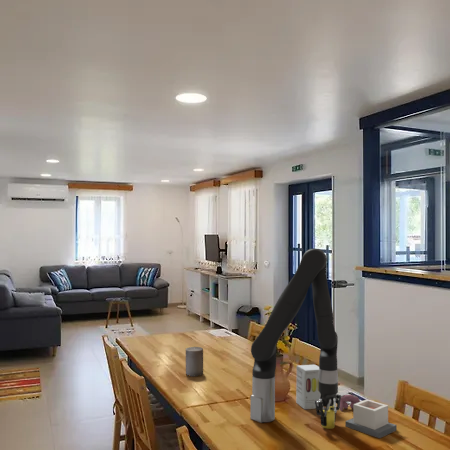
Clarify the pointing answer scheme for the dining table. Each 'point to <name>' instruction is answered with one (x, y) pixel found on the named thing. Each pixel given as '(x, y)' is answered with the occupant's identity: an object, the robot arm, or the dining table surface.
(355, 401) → the video game controller
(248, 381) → the dining table surface
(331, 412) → the cap
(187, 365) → the pillar candle
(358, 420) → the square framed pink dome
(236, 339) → the dining table surface
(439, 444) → the dining table surface
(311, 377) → the supplement box
